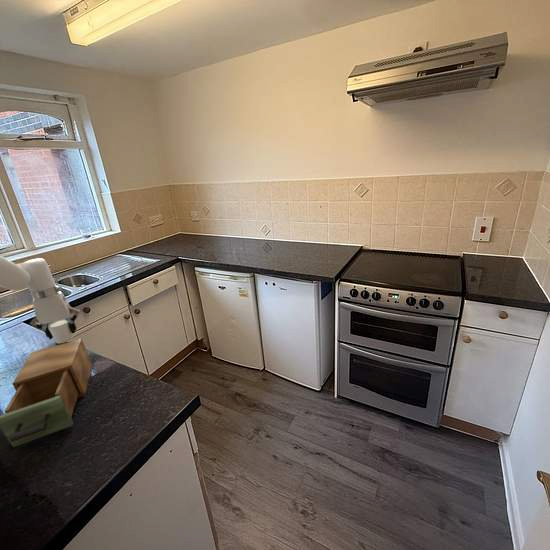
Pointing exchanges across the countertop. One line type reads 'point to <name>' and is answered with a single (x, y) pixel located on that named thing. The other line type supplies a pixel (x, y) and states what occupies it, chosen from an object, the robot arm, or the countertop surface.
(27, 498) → the countertop surface
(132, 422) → the countertop surface
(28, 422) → the drawer
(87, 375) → the cabinet
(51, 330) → the white short cylinder
